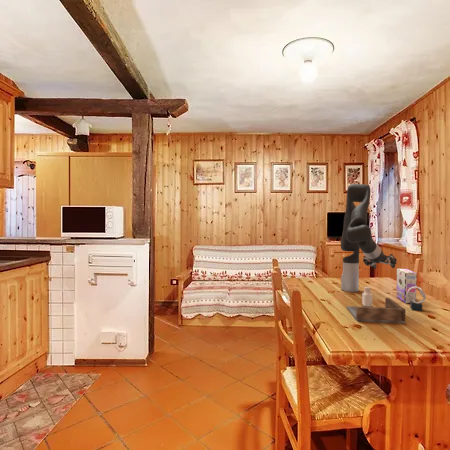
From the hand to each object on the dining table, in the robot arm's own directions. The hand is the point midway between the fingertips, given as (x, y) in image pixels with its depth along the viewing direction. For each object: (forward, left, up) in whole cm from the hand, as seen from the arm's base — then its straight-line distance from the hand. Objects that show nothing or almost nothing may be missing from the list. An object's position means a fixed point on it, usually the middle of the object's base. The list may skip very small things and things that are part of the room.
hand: (384, 266), depth 161 cm
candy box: (+4, +21, -20) cm, 29 cm away
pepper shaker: (-6, -5, -20) cm, 22 cm away
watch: (+13, +7, -20) cm, 25 cm away
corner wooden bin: (+2, -19, -20) cm, 27 cm away
